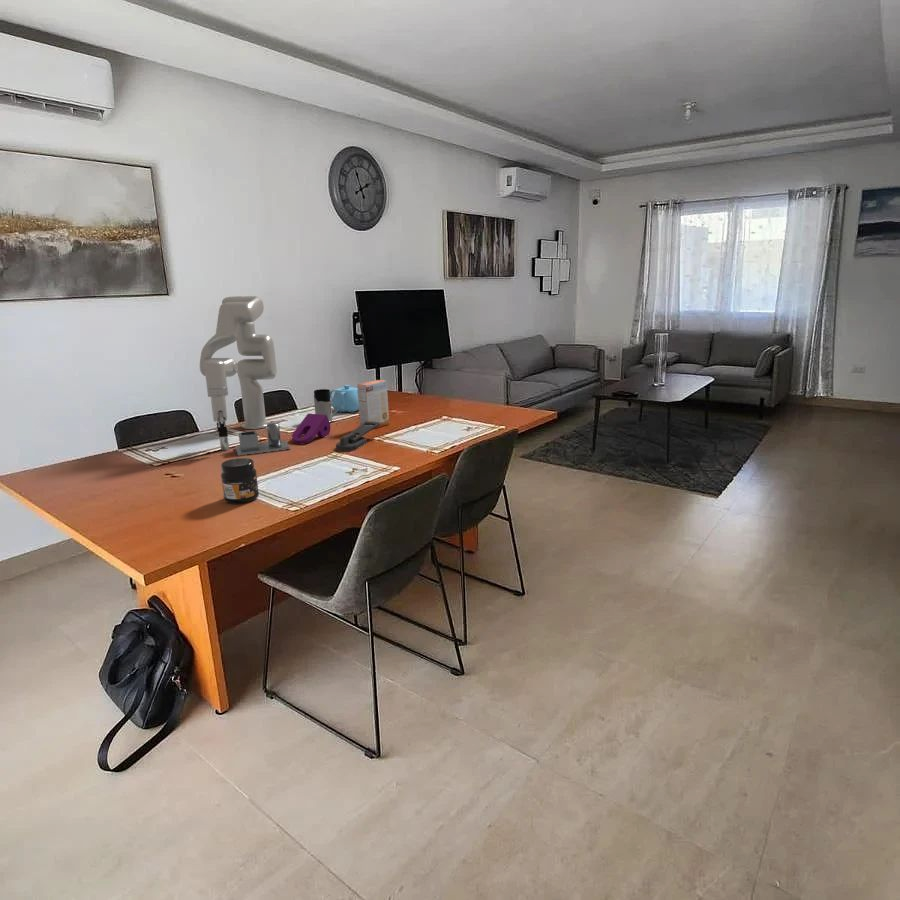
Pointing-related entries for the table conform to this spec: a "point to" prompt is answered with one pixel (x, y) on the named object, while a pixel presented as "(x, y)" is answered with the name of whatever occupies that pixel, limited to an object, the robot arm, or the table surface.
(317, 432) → the mounting bracket
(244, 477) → the supplement container
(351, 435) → the zipper pull
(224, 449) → the locking pin
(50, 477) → the table surface
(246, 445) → the grey fixture stand
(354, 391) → the decorative pot
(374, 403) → the cracker box
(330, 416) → the black and grey mug
